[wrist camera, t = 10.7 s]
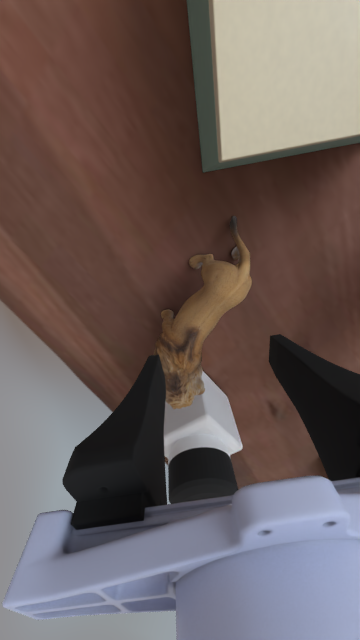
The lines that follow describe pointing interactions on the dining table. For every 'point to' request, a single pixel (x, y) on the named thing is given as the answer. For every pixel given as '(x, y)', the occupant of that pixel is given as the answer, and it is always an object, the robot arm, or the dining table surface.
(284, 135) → the lid
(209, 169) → the box
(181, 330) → the lion figurine
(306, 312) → the dining table surface
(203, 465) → the medicine bottle
